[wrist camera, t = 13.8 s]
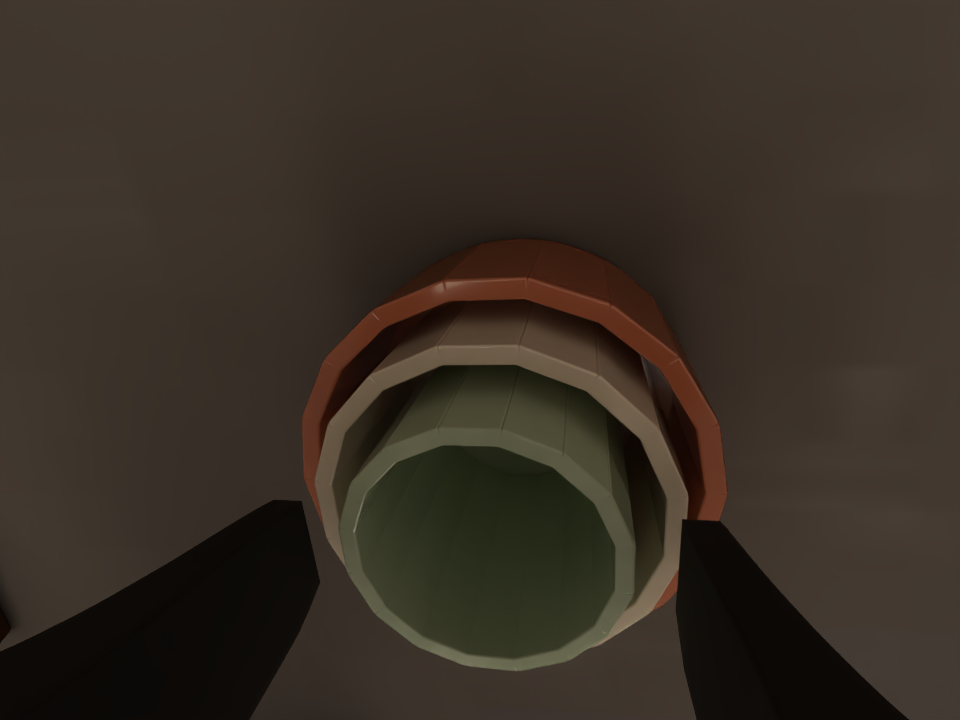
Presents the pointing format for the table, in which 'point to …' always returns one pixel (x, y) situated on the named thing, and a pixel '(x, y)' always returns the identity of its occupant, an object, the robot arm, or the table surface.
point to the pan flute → (3, 627)
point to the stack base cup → (556, 284)
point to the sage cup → (494, 519)
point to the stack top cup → (550, 352)
